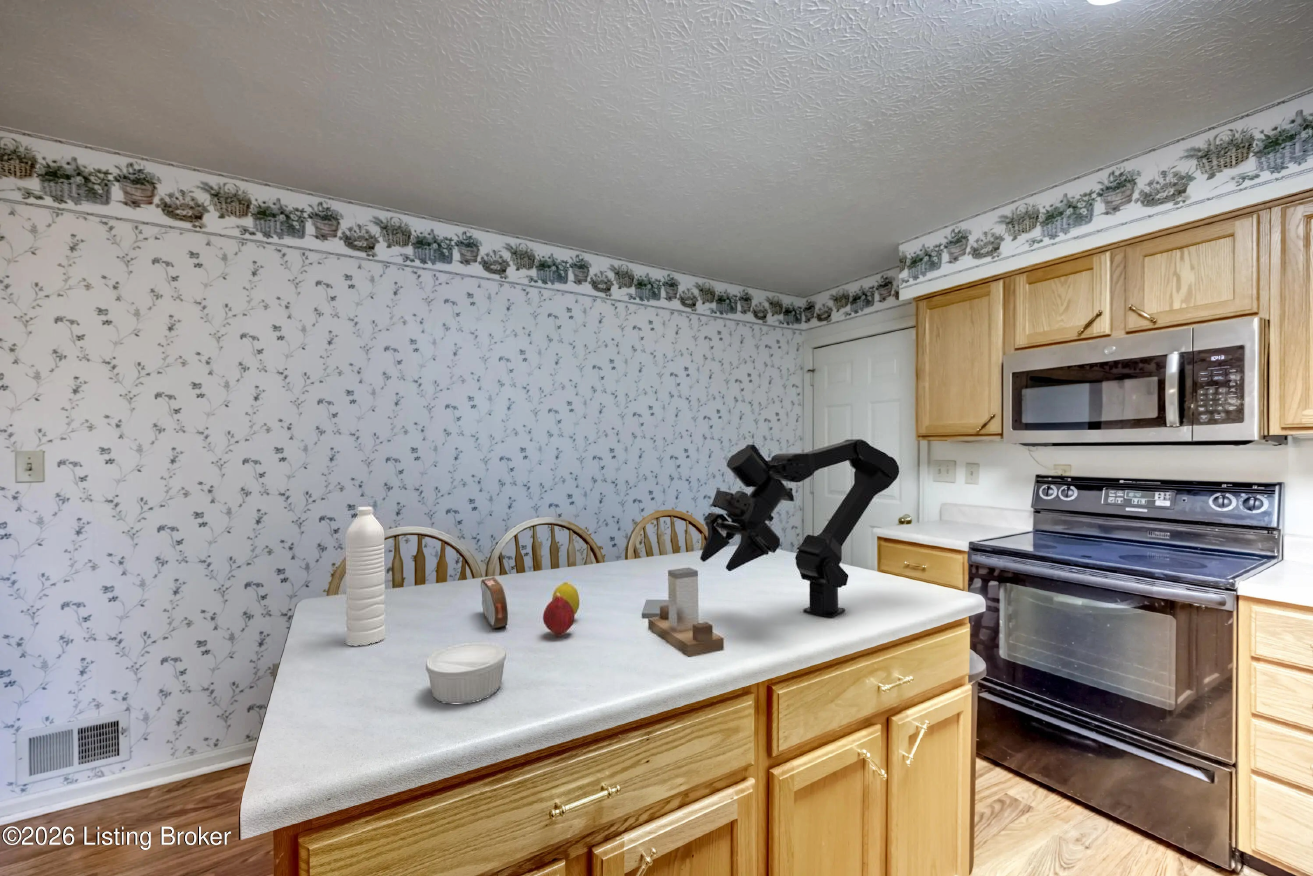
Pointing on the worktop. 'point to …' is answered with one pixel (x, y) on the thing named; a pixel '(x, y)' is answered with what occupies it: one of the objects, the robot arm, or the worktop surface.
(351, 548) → the water bottle
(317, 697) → the worktop surface
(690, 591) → the lever cap
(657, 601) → the mat
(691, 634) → the body
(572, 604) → the lemon
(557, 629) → the onion
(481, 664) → the ramekin
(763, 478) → the robot arm
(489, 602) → the tin
